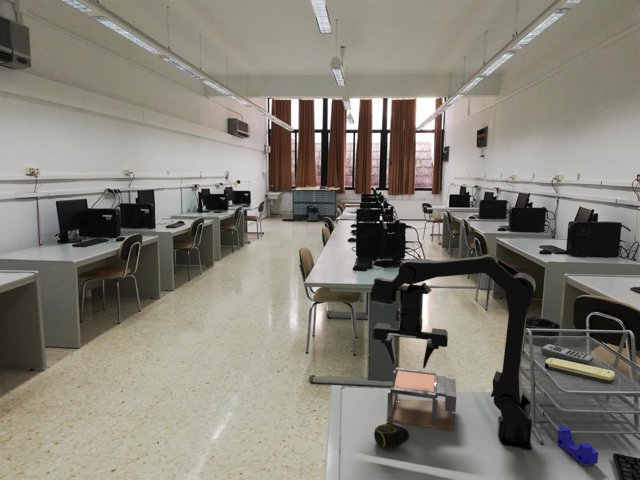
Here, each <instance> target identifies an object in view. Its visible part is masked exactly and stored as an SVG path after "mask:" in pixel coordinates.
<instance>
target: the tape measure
mask: <svg viewBox="0 0 640 480" xmlns="http://www.w3.org/2000/svg"><path fill="white" fill-rule="evenodd" d="M409 433H410V431H409V430H407V429H406V428H404V427H403V426H400V425H398V424H395V423H393V422H391V421H387V423H386V422H385V423H383V424H380V425H378V426H377V427H375V429H374V432H373V435H374V437H373V438H374V440H375V442H376V444H377V445H378V446H380V447H382V448H388V449H389V448H396V447H400V446H401V445H402V444H404V443H405V442H407V441H408V440H409V438H410V434H409Z"/></svg>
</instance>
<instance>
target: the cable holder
mask: <svg viewBox="0 0 640 480" xmlns="http://www.w3.org/2000/svg"><path fill="white" fill-rule="evenodd" d="M557 428H559V429H560V430H561V431H560V430H558V429H557V439H556V444H557V443H558V444H557V445H559V446H560V447H561V448H562V449H563V450H565V451H566V452H567V453H568V454H569V455H570V456H572V457H573V459H575V460H576V461H578V462H579V463H580V464H581V465H583V466H587V465H595V464H596V465H597V464H598V462H599V452H598V451H597V450H595V449H594V446H593V445H591V444H590V443H588V442H585V443H579V444H578V445H577V444H576V443H575V441H574V440H573V438H572V433H571V432H572V431H571V429H570V428H569V427H567V426H558V427H557Z"/></svg>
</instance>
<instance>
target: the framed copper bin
mask: <svg viewBox="0 0 640 480" xmlns="http://www.w3.org/2000/svg"><path fill="white" fill-rule="evenodd" d="M398 371H405V372H413V373H421V374H429V375H437V372H436V371H427V370H420V369H412V368H404V367H395V370H393V372H392V373H393V374H392V386H391V387H390V389H389V390H387V405H386V406H387V407H386V409H387V411H386V421H387V422H392V423H393V422H394V423H400V424H406V425H413V426H418V427H424V428H425V427H426V428H430V429H431V428H432V429H436V430H437V429H438V430H444V431H448V432H449V431H450V432H454V428H453V427H454V425H453V423H454V422H453V421H454V420H453V419H454V418H453V412H451V411H445V400H444V401H443V400H439V398H438V397H439V396H435V393H432V392H424V391H417V390H410V389H402V388H395V387H394V385H395V380H396V376H397V372H398ZM398 395H403V396H411V397H418V398H422V399H407V398H405V399H404V398H397V397H398ZM423 398H425V399H424V400H423ZM427 399H429V400H427ZM430 399H432V400H430ZM396 401H397V402H396ZM398 401H399V402H398Z"/></svg>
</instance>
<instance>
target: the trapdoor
mask: <svg viewBox="0 0 640 480" xmlns="http://www.w3.org/2000/svg"><path fill="white" fill-rule="evenodd" d="M456 382H457V381H456V378H449V377H448V378H447V377H446V376H444V375H437V374H436V375H429V374H421V373H413V372H405V371H398V372H397V376H396V380H395V385H394V387H395V388H402V389H410V390H417V391H424V392H432V393H435V396H437V397H443V398H444V401H445V411H451V412H452V413H456V411H457V410H456V409H457V386H456V385H457V384H456Z"/></svg>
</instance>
